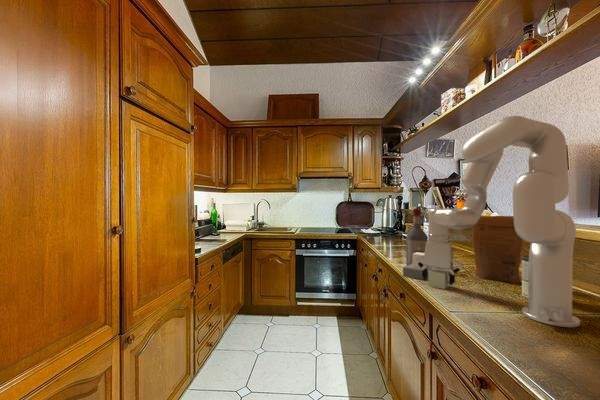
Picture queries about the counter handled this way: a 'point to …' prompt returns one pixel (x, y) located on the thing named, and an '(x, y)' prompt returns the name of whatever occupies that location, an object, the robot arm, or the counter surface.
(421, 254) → the cream block
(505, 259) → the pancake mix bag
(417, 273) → the pedestal
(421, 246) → the liquor
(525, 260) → the coffee can
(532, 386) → the counter surface
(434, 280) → the sage block
